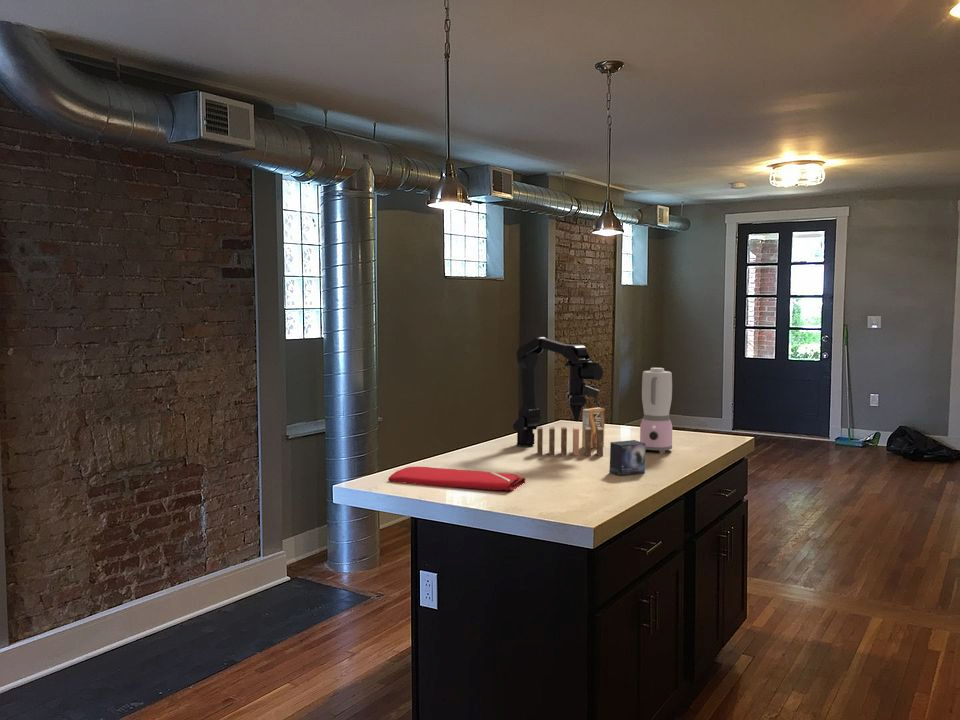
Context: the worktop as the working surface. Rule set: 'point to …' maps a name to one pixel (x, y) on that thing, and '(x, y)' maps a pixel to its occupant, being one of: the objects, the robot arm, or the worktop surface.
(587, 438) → the domino
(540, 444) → the domino
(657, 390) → the blender
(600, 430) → the domino
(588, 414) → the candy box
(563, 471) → the worktop surface
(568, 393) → the robot arm
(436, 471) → the dish drying mat
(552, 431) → the domino
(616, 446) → the small box
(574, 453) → the domino
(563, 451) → the domino
